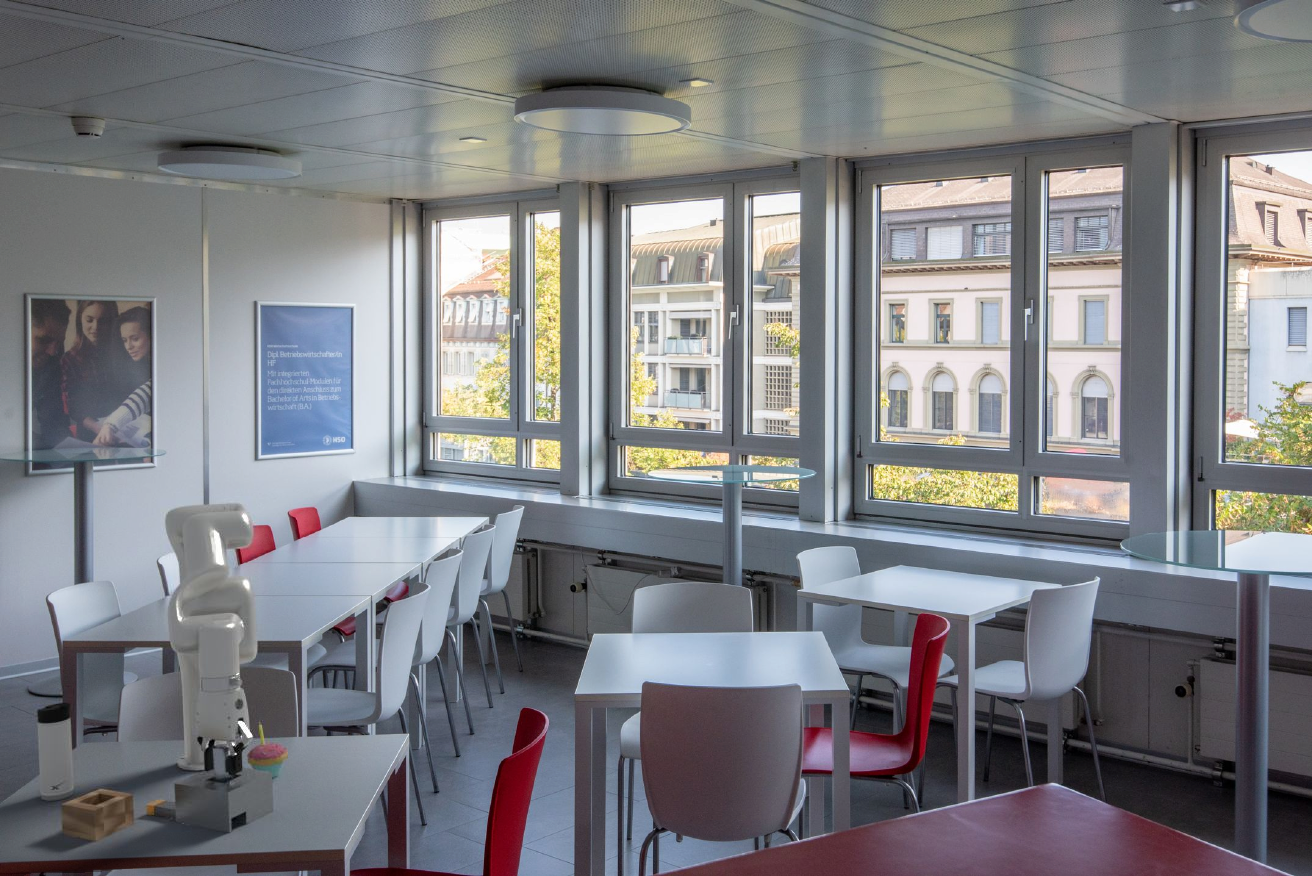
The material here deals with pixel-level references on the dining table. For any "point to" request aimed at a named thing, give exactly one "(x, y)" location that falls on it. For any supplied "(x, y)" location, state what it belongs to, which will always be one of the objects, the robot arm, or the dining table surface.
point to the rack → (97, 814)
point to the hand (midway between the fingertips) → (223, 770)
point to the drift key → (162, 808)
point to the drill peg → (221, 763)
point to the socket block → (223, 799)
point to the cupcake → (267, 756)
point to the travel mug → (55, 752)
